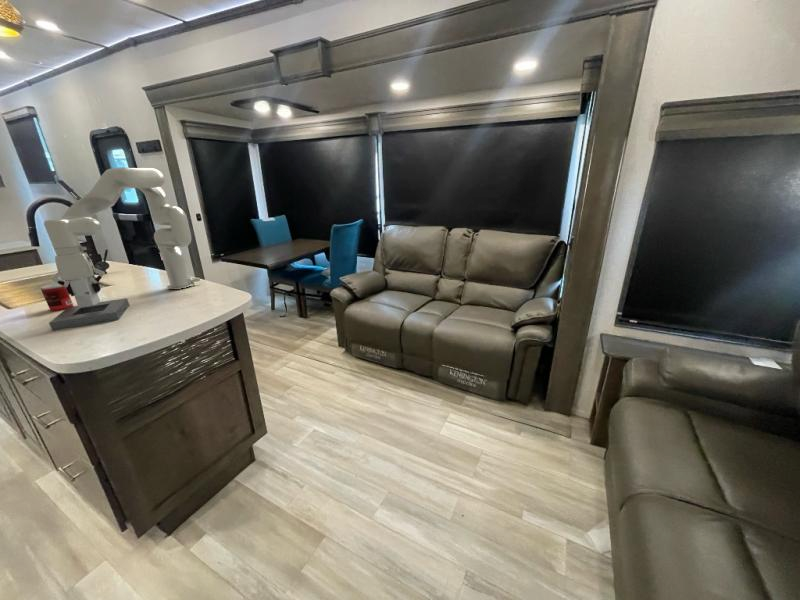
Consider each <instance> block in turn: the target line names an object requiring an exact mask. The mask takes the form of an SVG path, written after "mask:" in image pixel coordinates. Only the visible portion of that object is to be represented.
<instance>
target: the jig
mask: <svg viewBox="0 0 800 600" xmlns="http://www.w3.org/2000/svg"><path fill="white" fill-rule="evenodd" d="M129 307H130V302H129V299H128V298H127V297H125V298H120V299H113V300H105V301H100V303H98V304H95V305H92V306H78V304H77V305H73V306H71V307H68V308H67V309H65V310H62V311H61V312H60V313H59V314H57V316H55V317H54V318H53V319H52V320H50V321H48V324H49V326H50V329H51V331H52V332H56V331H60V330H61V331H62V330H66V329H73V328H78V327H84V326H91V325H96V324H101V323H102V324H103V323H108V322H114V321H119V320H120V319H121V318H122V316H123V314H124V313H125V312H126V311H127V309H128V308H129Z"/></svg>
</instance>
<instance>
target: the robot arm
mask: <svg viewBox="0 0 800 600" xmlns="http://www.w3.org/2000/svg"><path fill="white" fill-rule="evenodd" d="M165 181H166V180H165V176H164V174H163V173H162V172H161V171H160V170H158V169H156V168H154V167H115V168H114V167H112V168H109V169H106V170H105V171H104V172H103V173H102V174H101V176H100V177H99V179H98V180H97V181H96V182H95V184H94V186H93V187H92V188H91V189H90V191H89V192H88V193H87V194H85V195H83V196H82V197H81V198H80V199H78V200H76V201H75V202H74V203H73V204H71V205H70V207H69V208H67V210H66V211H65V213H63V215H62V216H61V218H52V219H47V220H45V221H44V222H43V226H44V228H45V230H46V233H47V236H48V238H49V240H50V242H51V244H52V247H53V249H54V253H55V256H54V259H55V260H54V261H55V264H56V265H55V266H56V269H57V273H55V274H54V275H53V276H52V277H51V280H52V281H53V282H55V283H58V284H60V285H63V286H64V287H66V288H67V291H68V293H69V295H70V297H75V296H74V294H73V291H72V288H71V286H70V283H69V282H70V280H75V279H77V278H80V277H86V278H89V279H90V280H91V281H92V282H93V284H92V285H93V287H94V290H95V292H96V293H98V294H99V293H100V292H101V289H102V287H101V286H100V283H99V282H100V281H101V279H102V278H103V277H104V275H105V271H104V270H101V269H99V268H96V267H95V266H94V264H93V262H92V260H91V258H90V256H89V255H88V253H87V252H84V251H87V247H86V246H82V245H81V243H80V241H79V238H78V237H79V236H94V235H96V234H98V233H100V232H101V229H102V224H101V223H100V221H99V220H97V219H95V218H94V217H93V216H95V215H96V214H98V213H100V212H102V211H106V210H108V209H110V208H112V207H114V206H115V204H116V203H117V202H118V200H119V198H120V197H121V196H122V194H123V193H124V192H125V190H126V189H138V190H139V191H141V193H143V195H144V196H145V198H146V200H147V204H148V208H149V211H150V214H151V218H152V220H153V223H155V224H157V225H158V226H170V227H162V228H159V229H157V230H156V231H155V232H154V234H153V238H154V242H155V244H156V246H157V247H158V250H159V252H160V256H161V258H162V262H163V265H164V269H165V271H166V275H167V278H168V281H169V282H168V283H169V285H167V287H166V288H167V290H169V289H180V290H182V289H181V288H185V289H187V288H186V287H189V286H192V285H194V284H195V283H196V282H201V278H200V277H194V278H193V277H191V276H190V274H189V269H188V266H187V263H186V259H185V255H184V252H183V250H182V249H181V248H185V247H189V245H191V242H192V233H191V229H190V225H189V220H188V216H187V214H186V212H185V211H184V209H182V207H181V208H180V207H179V206H177V205H171V204H170V201H169V199H168V196H167V194H166V192H165V190H164V188H163V187H162V186H163V185H165ZM95 275H97V277H96V276H95ZM194 286H195V285H194ZM192 287H193V286H192ZM189 288H190V287H189Z"/></svg>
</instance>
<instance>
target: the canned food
mask: <svg viewBox="0 0 800 600" xmlns="http://www.w3.org/2000/svg"><path fill="white" fill-rule="evenodd" d="M40 291H41V293H42V295H43V297H44V299H45V301H46V304H47V306H48V308H49V310H50V311H51V312H60V311H61V312H62V311H64V310H65V309H67V308H68V307H71V306H74V303H73V301H72V298H71V295H70V294H69V293H68V291H67V288H66V287H64V286H63V285H60V284H58V283H57V282H55V283H52V284H51V283H50V284H46V285H43V286H41V287H40Z"/></svg>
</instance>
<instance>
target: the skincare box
mask: <svg viewBox="0 0 800 600" xmlns="http://www.w3.org/2000/svg"><path fill="white" fill-rule="evenodd" d="M69 283H70V286H71V288H72V291H73V294H74V296H73V297H74V299H75V302H76V304H77V305H78V306H92V305H95V304H98V303H100V302H101V299H100V297H99V292H98V293H96V292H95V290H94V287H93V285H92V284H93V282H92V281H91V280H90V279H89V278H86V277H80V278H77V279H75V280H70V282H69Z"/></svg>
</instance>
